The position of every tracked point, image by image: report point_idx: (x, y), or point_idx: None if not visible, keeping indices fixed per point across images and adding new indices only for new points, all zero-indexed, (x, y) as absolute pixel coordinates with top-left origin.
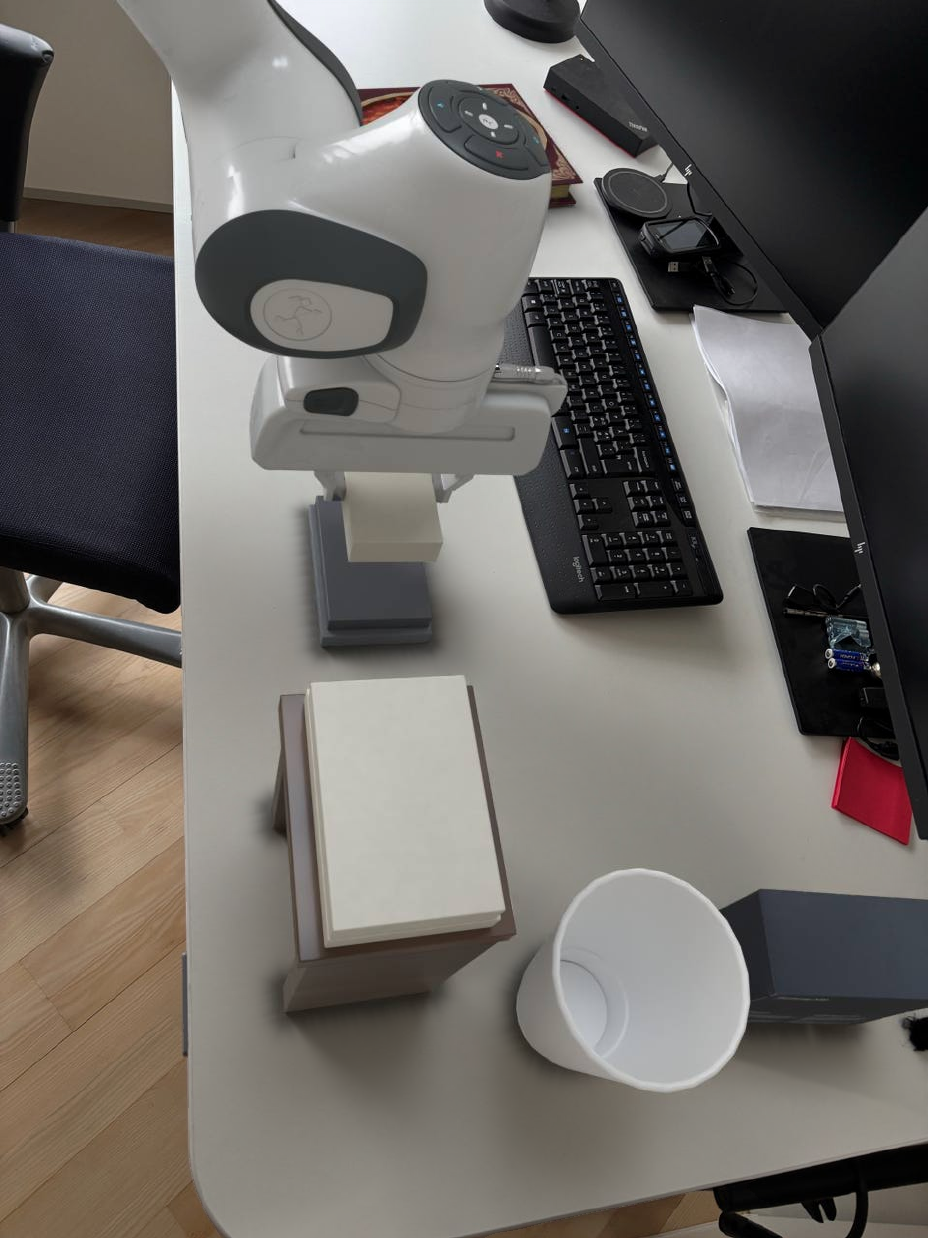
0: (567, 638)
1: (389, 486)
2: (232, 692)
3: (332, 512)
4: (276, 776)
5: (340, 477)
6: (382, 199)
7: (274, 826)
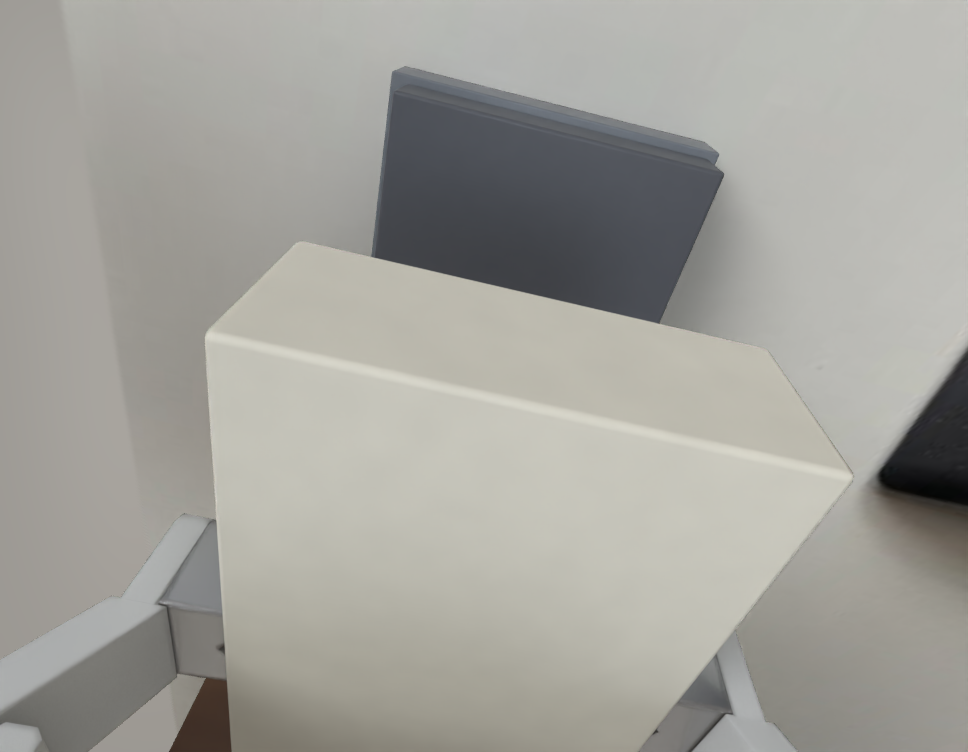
0: (855, 528)
1: (429, 715)
2: (194, 446)
3: (430, 177)
4: (182, 726)
5: (201, 641)
6: None
7: None
